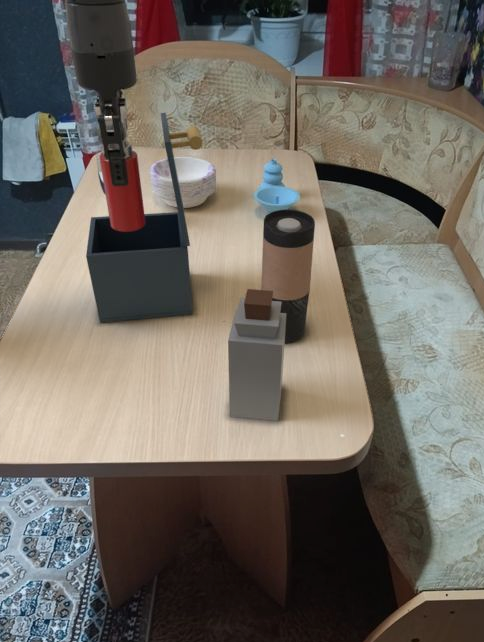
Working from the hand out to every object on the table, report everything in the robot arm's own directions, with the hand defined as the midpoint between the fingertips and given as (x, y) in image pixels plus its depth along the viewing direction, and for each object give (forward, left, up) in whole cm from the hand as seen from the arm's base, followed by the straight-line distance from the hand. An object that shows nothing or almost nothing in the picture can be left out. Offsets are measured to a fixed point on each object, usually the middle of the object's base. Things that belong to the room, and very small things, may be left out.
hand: (121, 176), depth 78 cm
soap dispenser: (+1, +50, -25) cm, 56 cm away
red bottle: (0, 0, -7) cm, 7 cm away
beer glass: (-25, +26, -25) cm, 43 cm away
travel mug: (+23, +8, -25) cm, 35 cm away
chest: (-3, +5, -25) cm, 25 cm away
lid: (+3, +9, -3) cm, 10 cm away
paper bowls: (-20, +43, -25) cm, 53 cm away
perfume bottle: (+27, -9, -25) cm, 38 cm away
